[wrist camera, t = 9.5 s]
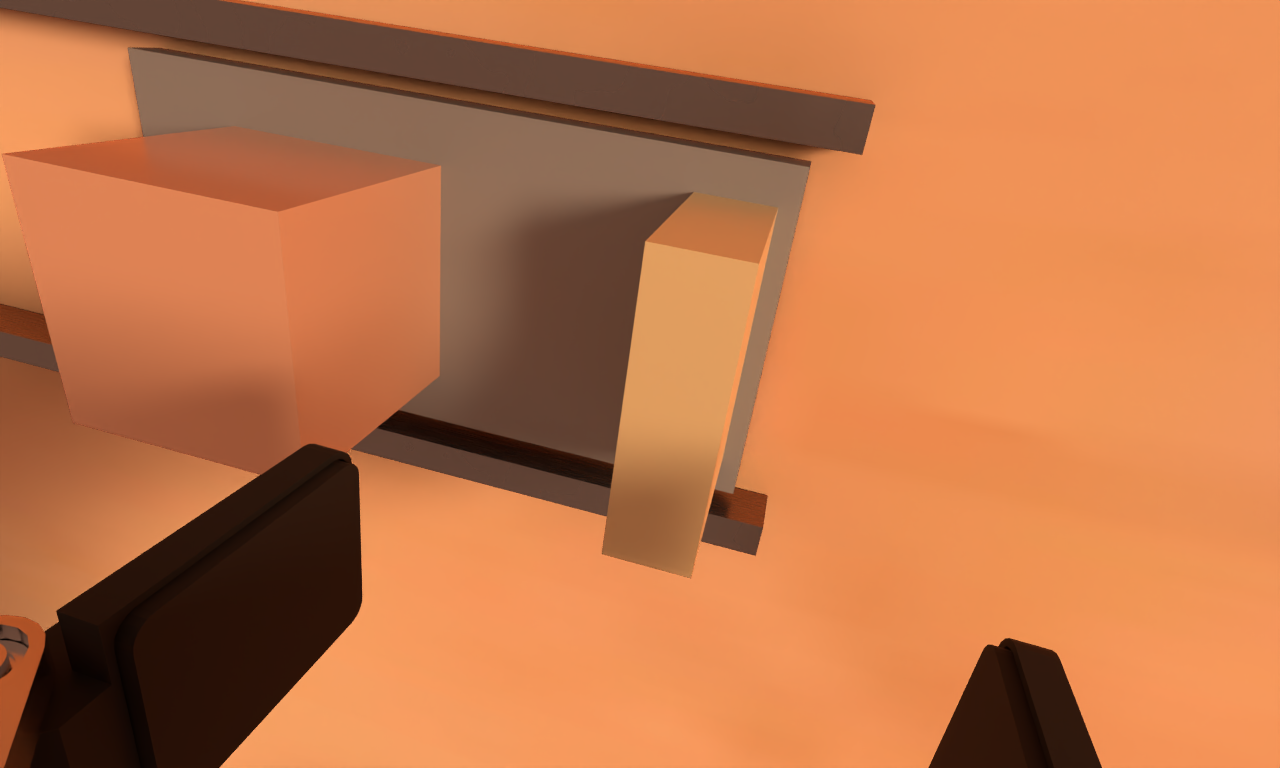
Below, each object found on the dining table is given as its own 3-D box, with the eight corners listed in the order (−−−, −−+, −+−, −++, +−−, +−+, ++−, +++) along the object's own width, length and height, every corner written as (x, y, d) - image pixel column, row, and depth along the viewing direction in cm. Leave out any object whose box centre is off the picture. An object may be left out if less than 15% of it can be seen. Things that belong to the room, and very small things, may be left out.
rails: (760, 522, 21) (755, 555, 20) (-89, 305, 26) (-141, 319, 25) (871, 100, 16) (875, 104, 15) (-223, -74, 21) (-299, -83, 20)
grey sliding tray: (811, 161, 17) (802, 210, 11) (736, 475, 21) (705, 619, 15) (159, 47, 19) (-90, 45, 14) (206, 344, 24) (25, 427, 18)
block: (439, 376, 21) (305, 486, 15) (258, 332, 22) (73, 422, 16) (441, 165, 18) (278, 212, 13) (234, 126, 19) (1, 154, 14)
